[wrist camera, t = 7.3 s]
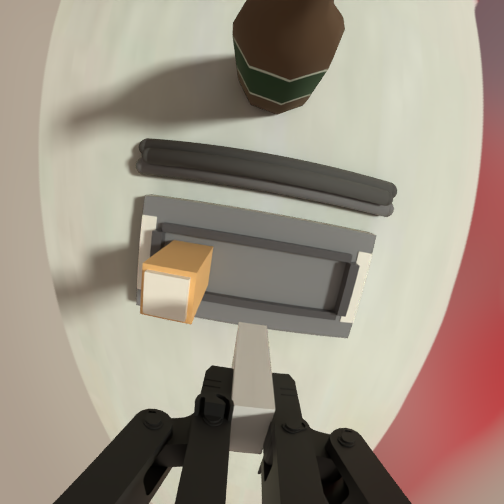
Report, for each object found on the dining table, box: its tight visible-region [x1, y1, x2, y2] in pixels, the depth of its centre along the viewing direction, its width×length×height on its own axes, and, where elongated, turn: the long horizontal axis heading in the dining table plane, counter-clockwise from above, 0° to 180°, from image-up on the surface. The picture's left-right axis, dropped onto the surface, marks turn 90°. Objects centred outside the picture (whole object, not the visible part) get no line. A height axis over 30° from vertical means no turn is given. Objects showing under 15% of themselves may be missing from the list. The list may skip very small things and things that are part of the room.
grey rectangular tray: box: [136, 194, 376, 338], centre depth 30 cm, size 12×24×3 cm, turn 80°
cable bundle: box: [136, 138, 397, 217], centre depth 28 cm, size 28×4×3 cm, turn 80°
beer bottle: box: [233, 0, 345, 114], centre depth 15 cm, size 8×8×24 cm
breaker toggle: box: [140, 240, 213, 324], centre depth 24 cm, size 4×4×10 cm
